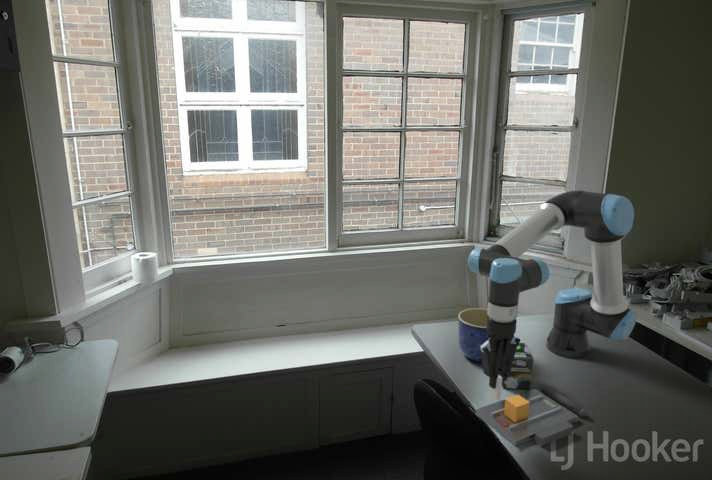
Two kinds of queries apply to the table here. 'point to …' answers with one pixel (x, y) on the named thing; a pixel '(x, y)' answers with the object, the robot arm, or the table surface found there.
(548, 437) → the grey bar
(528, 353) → the chalk box
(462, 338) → the planter
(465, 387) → the table surface
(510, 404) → the block
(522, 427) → the breaker panel
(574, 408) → the dark grey rod
